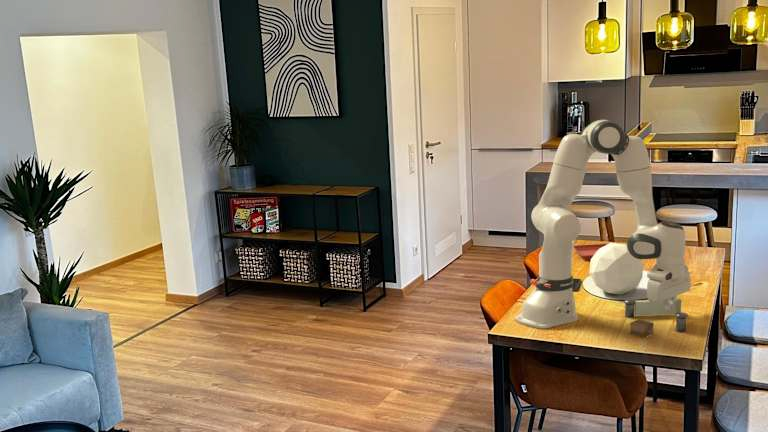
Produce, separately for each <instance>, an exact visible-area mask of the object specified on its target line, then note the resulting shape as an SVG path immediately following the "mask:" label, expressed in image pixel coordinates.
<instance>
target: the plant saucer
mask: <svg viewBox="0 0 768 432" xmlns="http://www.w3.org/2000/svg"><path fill="white" fill-rule="evenodd" d="M608 244H609V243H598V244H597V243H596V244H594V243H593V244H580V245H579V244H577V245H574V247H573V250H575V252H576V253H577V254H578V255H579V256H580V258H582V260H583V261H591V259H592V257H593V256H594V255H595V253H596V252H597V251H598V250H599V249H600V248H602V247H604V246H606V245H608Z"/></svg>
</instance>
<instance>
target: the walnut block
mask: <svg viewBox="0 0 768 432" xmlns="http://www.w3.org/2000/svg"><path fill="white" fill-rule="evenodd" d="M654 324H655V323H654V322H652V321H649V320H645V319H642V318H638V319H636V320H633V321H632V322H630V329H629V331H630V333H629V334H630V335H632V334H633V335H632V336H635V335H636V336H635V337H638V338H642V339H645V338H648V337H650V336H652V334H653V335H654V331H655V330H654V329H655V325H654ZM649 335H650V336H649ZM647 336H648V337H647Z"/></svg>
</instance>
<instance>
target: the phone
mask: <svg viewBox="0 0 768 432" xmlns="http://www.w3.org/2000/svg"><path fill="white" fill-rule="evenodd" d="M581 283H582V279H581V278H574V277H573V287H572V291H573V293H575V292H579V289H580V286H581Z"/></svg>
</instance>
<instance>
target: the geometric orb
mask: <svg viewBox="0 0 768 432" xmlns="http://www.w3.org/2000/svg"><path fill="white" fill-rule="evenodd" d="M607 244H608V245H606V246H604V247H602V248H600V249H599V250H598V251H597V252H596V253H595V255H594V256H593V257H592V259H591V260H590V262H589V263H590V264H589V273H588V274H589V275H590V277H591V279H592V281H593V282H594V284H595V286H596V287H598V288H599V289H600V290H602V291H604V292H605V293H608V294H613V295H619V296H623V295H625V294H627V293H629V292H630V291H633V290H634V289H636V288H637V286H638V285H639V283H640V282H641V280H642V279H643V275H644V266H645V264H644V262H643V259H637V258H635V257H633V256H632V255H631V254H630V253H629V251H628V249H627V244H623V243H614V242H609V243H607Z"/></svg>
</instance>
